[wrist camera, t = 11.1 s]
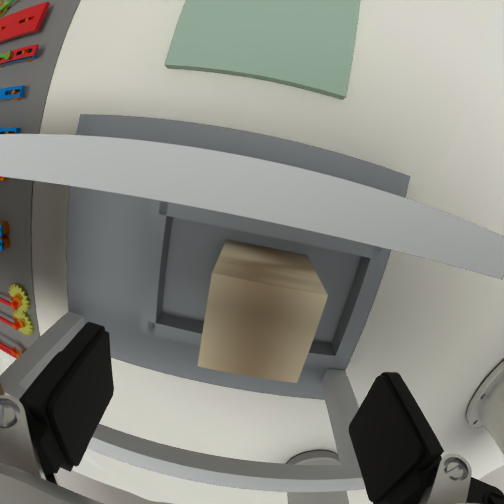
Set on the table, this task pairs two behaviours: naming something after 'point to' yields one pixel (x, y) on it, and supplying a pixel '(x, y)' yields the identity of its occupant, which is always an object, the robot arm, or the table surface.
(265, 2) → the rubber mat
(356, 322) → the grey frame
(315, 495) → the travel mug
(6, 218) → the gear board
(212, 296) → the maple block
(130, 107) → the table surface
